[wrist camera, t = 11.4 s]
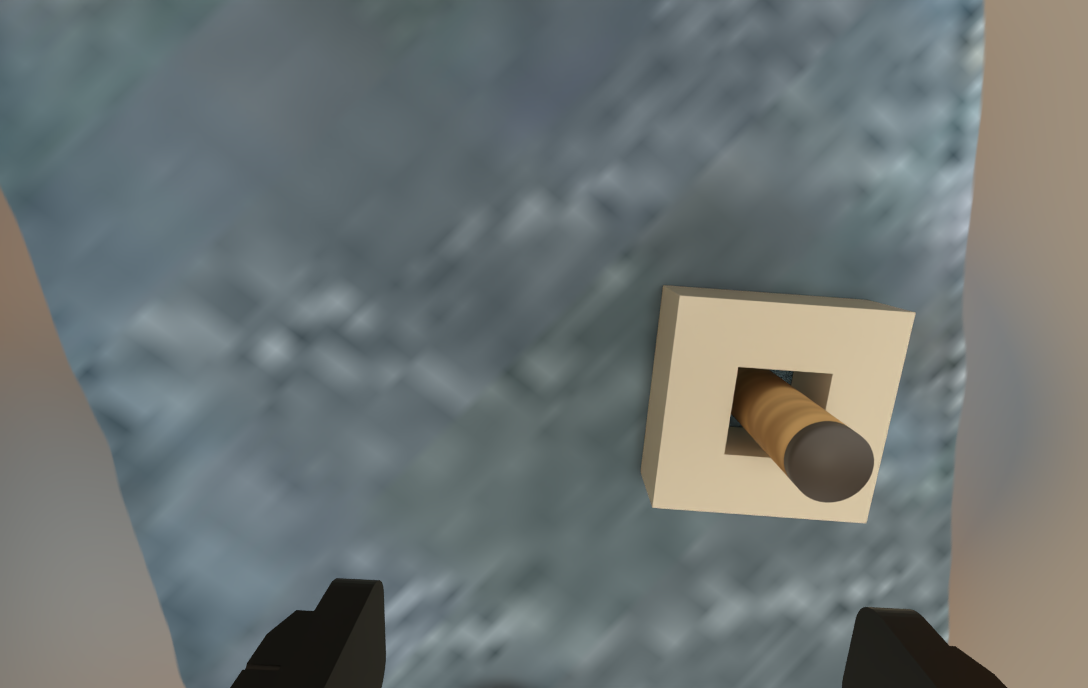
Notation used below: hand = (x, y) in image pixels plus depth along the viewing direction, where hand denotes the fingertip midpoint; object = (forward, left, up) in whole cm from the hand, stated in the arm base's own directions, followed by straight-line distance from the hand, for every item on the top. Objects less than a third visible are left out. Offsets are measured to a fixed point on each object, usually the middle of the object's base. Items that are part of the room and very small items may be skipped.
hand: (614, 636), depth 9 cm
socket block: (+4, +13, -29) cm, 32 cm away
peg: (+4, +13, -29) cm, 32 cm away
